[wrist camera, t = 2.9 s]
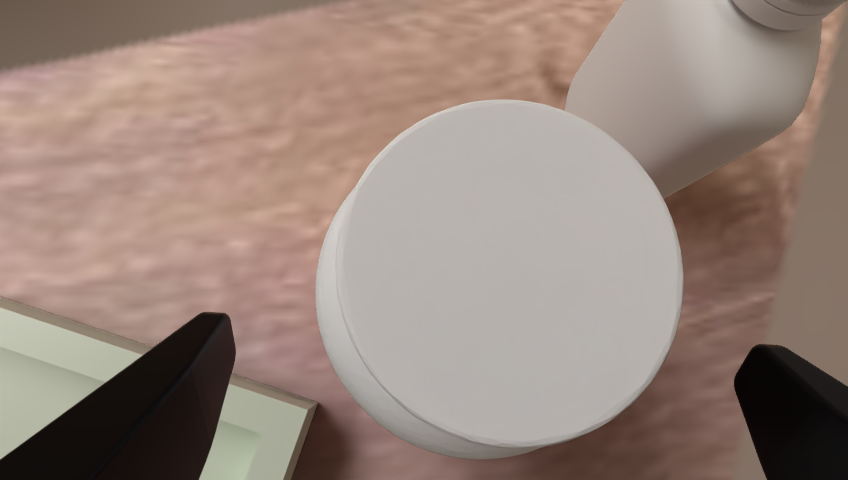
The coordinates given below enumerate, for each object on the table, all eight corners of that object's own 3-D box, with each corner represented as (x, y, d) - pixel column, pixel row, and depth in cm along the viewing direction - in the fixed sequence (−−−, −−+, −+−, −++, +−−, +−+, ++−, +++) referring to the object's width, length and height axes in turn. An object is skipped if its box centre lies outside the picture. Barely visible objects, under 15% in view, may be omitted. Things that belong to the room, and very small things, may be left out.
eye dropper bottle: (683, 106, 19) (1121, -259, 8) (634, 233, 18) (1064, 32, 7) (580, 59, 20) (855, -368, 8) (525, 182, 18) (752, -103, 7)
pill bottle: (503, 209, 18) (661, 10, 7) (553, 380, 17) (825, 440, 6) (334, 248, 18) (237, 92, 7) (373, 429, 16) (333, 587, 6)
